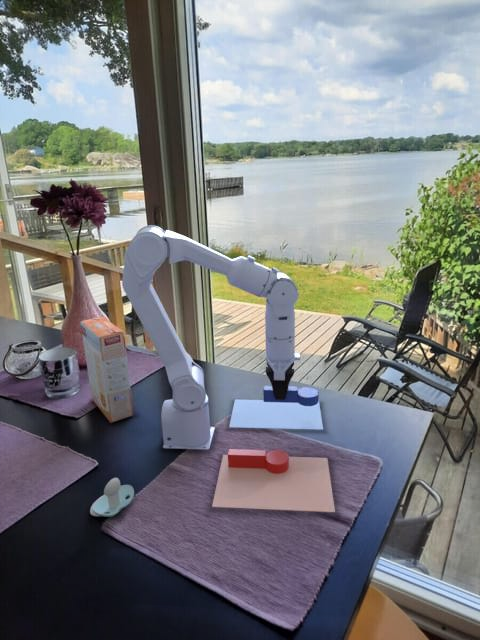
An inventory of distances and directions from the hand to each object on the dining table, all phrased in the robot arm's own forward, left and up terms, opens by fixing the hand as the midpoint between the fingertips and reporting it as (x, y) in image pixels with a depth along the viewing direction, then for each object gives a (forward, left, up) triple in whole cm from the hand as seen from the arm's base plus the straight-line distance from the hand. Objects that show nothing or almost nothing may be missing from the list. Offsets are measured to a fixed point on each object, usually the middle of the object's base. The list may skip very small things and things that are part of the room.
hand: (280, 396), depth 91 cm
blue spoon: (+2, 0, -1) cm, 2 cm away
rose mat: (-1, -16, -8) cm, 18 cm away
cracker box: (-40, +8, -9) cm, 42 cm away
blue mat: (-1, +6, -8) cm, 10 cm away
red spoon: (-4, -12, -8) cm, 15 cm away
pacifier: (-28, -24, -9) cm, 38 cm away
